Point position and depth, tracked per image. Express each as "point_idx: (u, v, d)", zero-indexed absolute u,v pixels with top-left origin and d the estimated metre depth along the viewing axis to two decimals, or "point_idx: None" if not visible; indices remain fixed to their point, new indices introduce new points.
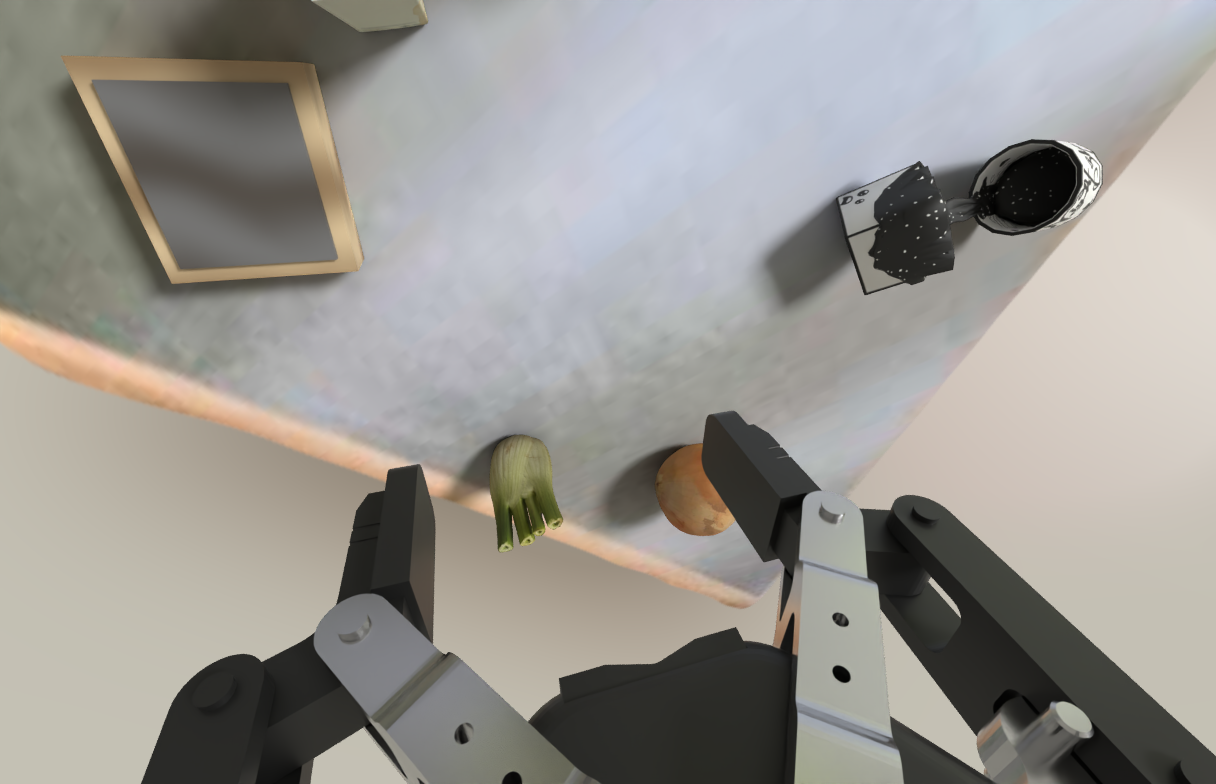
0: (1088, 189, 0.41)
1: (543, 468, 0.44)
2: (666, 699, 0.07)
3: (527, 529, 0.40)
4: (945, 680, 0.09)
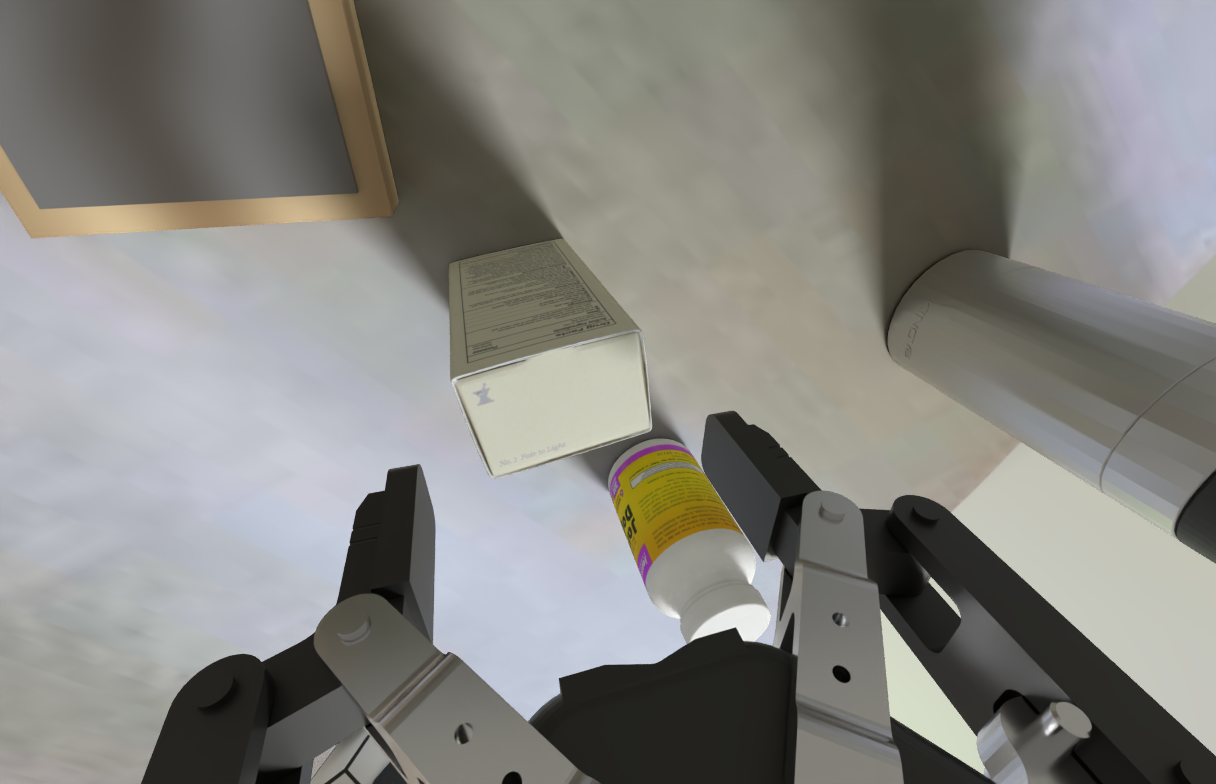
0: None
1: None
2: (666, 699, 0.07)
3: None
4: (945, 680, 0.09)
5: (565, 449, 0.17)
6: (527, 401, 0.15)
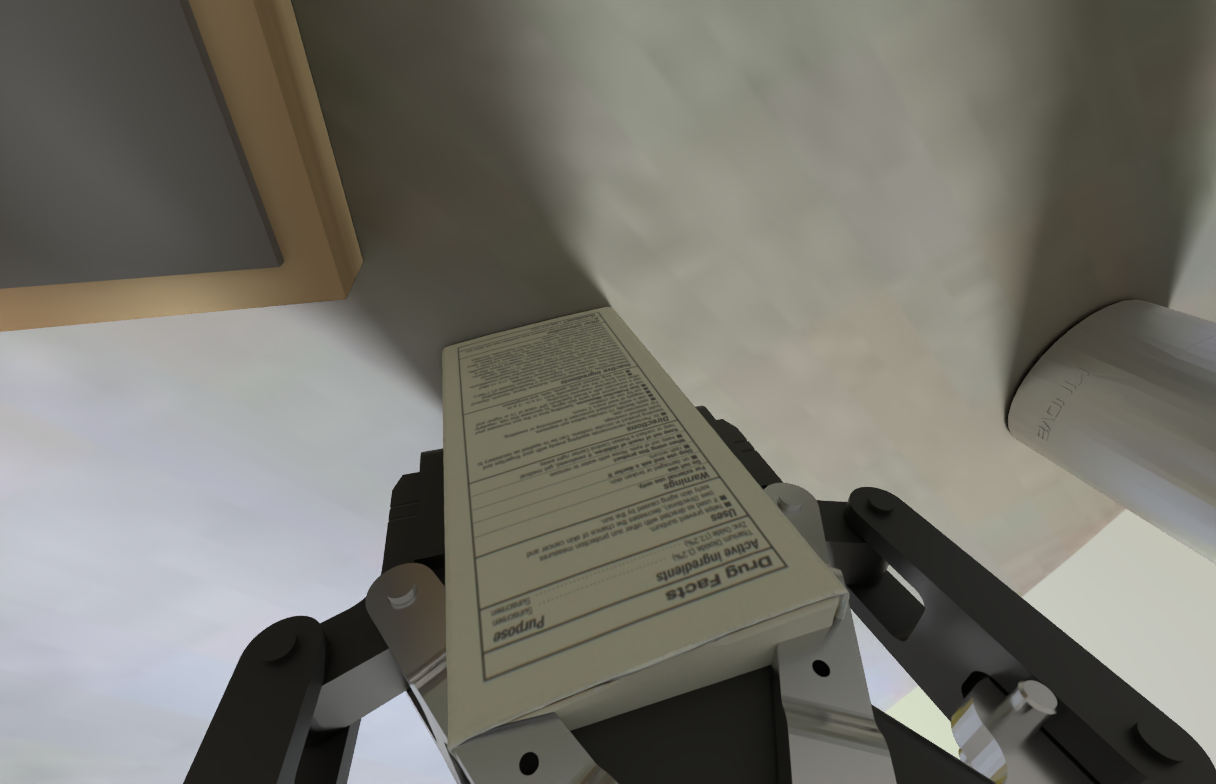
0: None
1: None
2: (666, 699, 0.07)
3: None
4: (914, 666, 0.10)
5: None
6: None
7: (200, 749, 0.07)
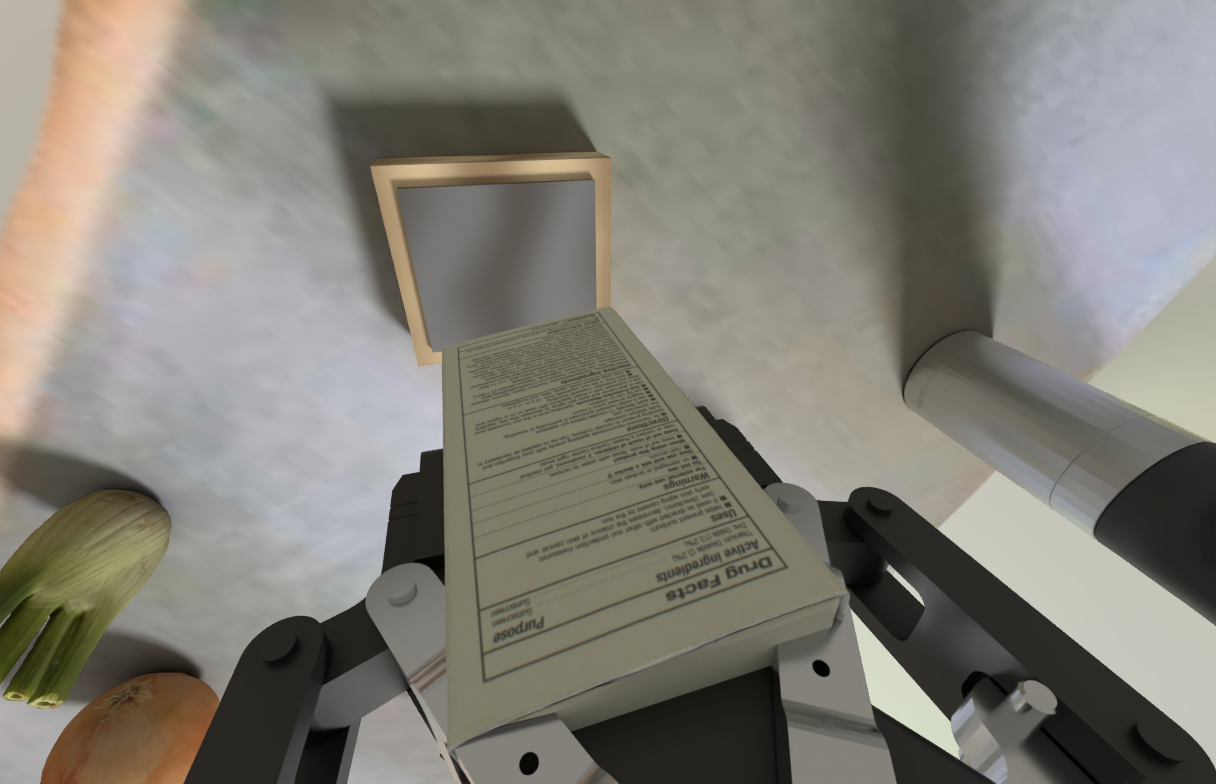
0: None
1: (131, 593, 0.29)
2: None
3: (7, 670, 0.23)
4: (914, 665, 0.10)
5: None
6: None
7: (200, 749, 0.07)
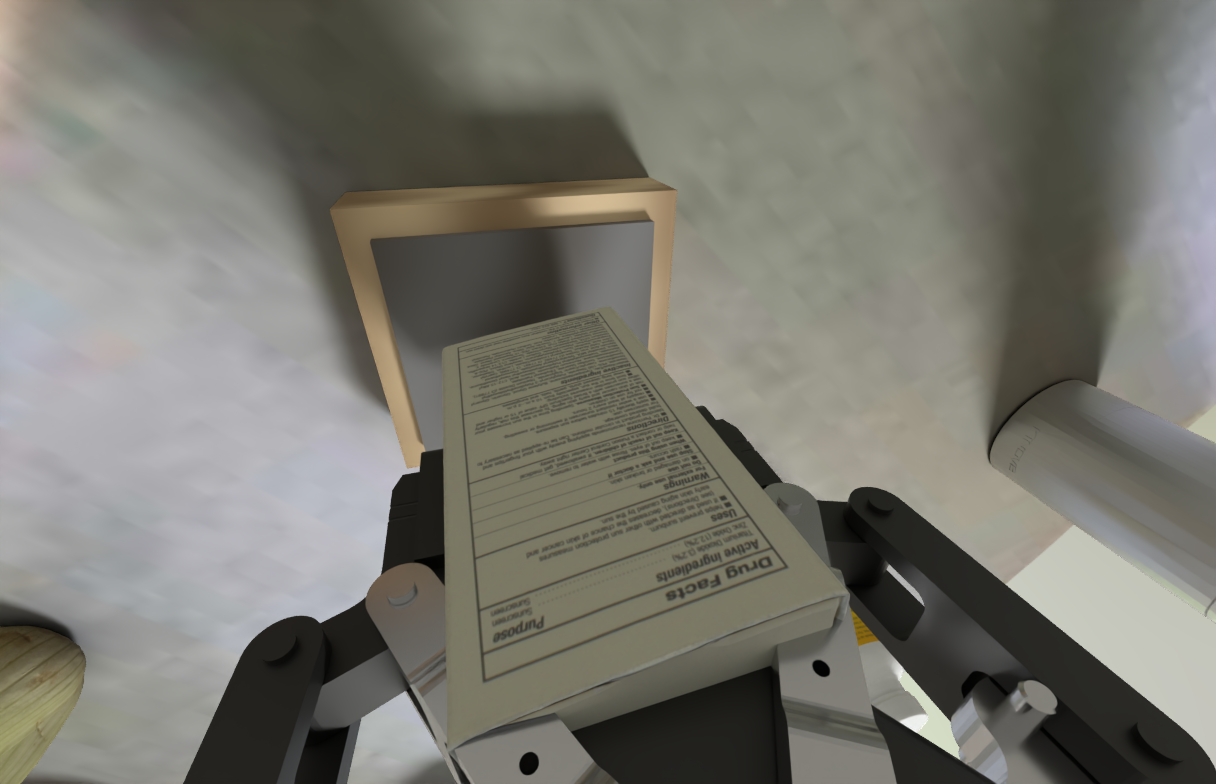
0: None
1: (18, 777, 0.21)
2: None
3: None
4: (913, 666, 0.10)
5: None
6: None
7: (200, 749, 0.07)
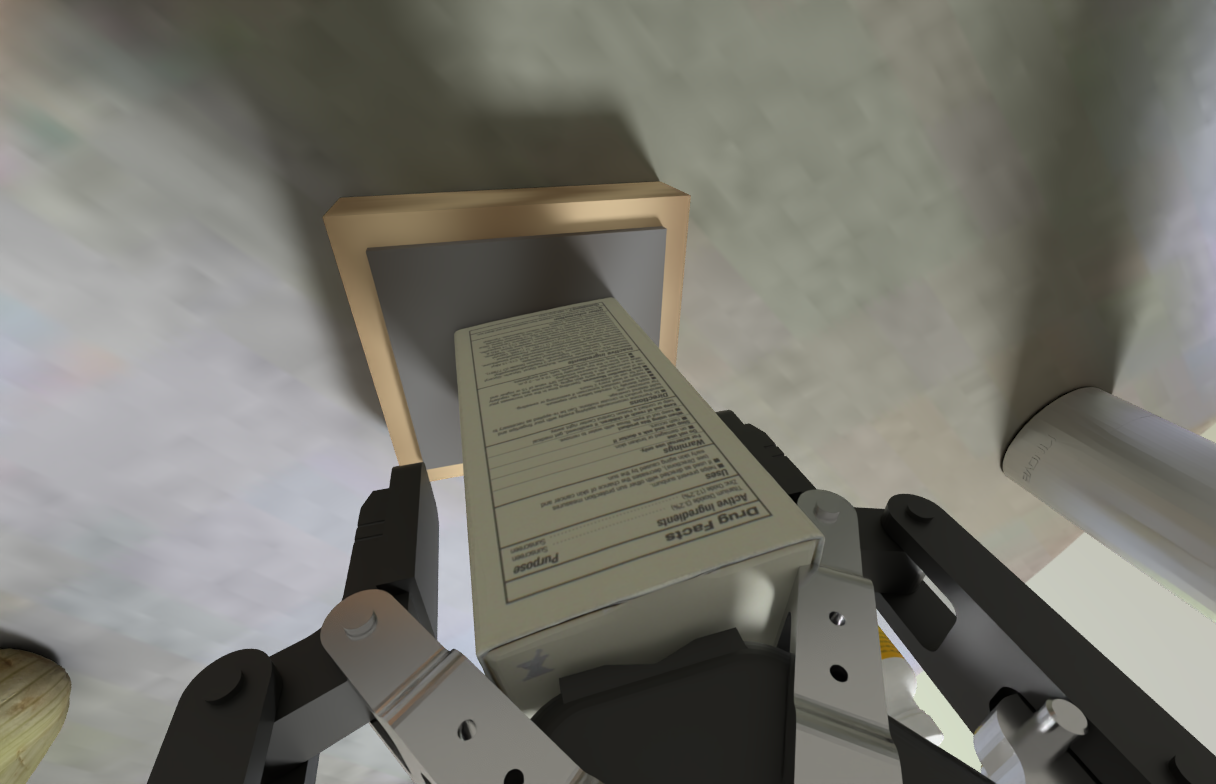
0: None
1: None
2: (666, 699, 0.07)
3: None
4: (942, 678, 0.09)
5: None
6: (613, 660, 0.08)
7: None
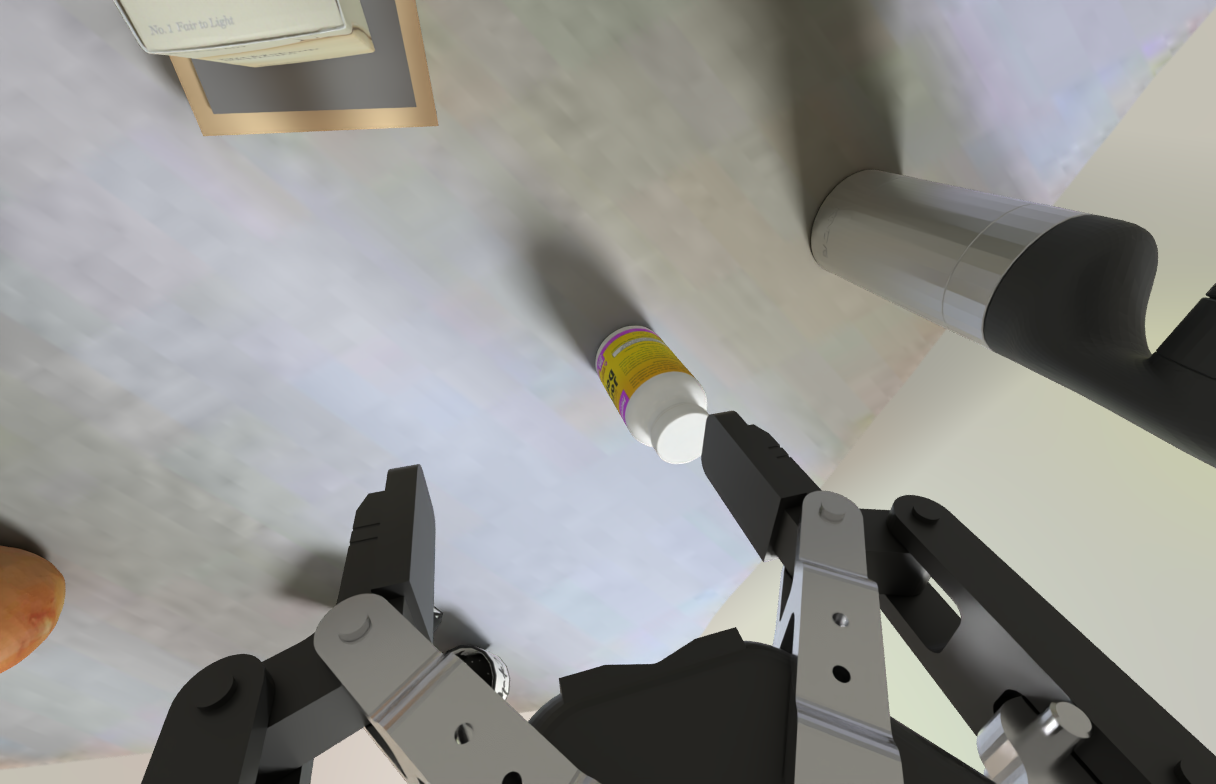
0: None
1: None
2: (666, 699, 0.07)
3: None
4: (945, 679, 0.09)
5: (236, 30, 0.15)
6: None
7: None
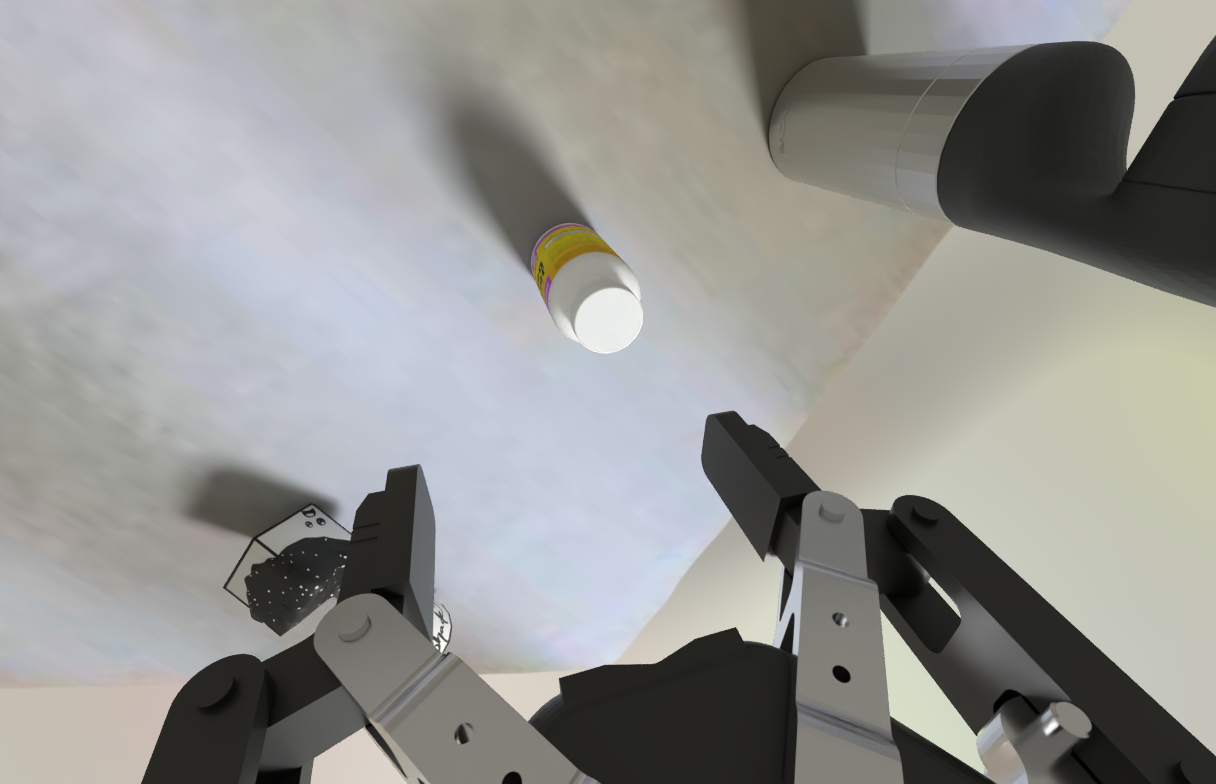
0: None
1: None
2: (666, 699, 0.07)
3: None
4: (945, 680, 0.09)
5: None
6: None
7: None
